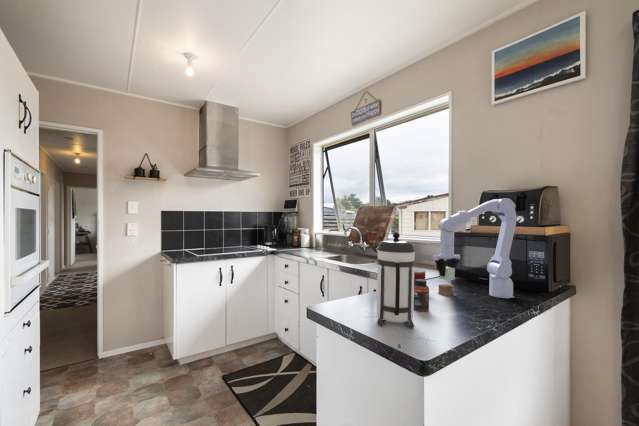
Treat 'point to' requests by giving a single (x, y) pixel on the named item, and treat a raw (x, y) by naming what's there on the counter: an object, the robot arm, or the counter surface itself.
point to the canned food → (419, 274)
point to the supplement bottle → (421, 295)
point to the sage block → (448, 274)
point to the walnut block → (446, 289)
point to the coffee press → (395, 281)
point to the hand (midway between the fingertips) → (446, 275)
